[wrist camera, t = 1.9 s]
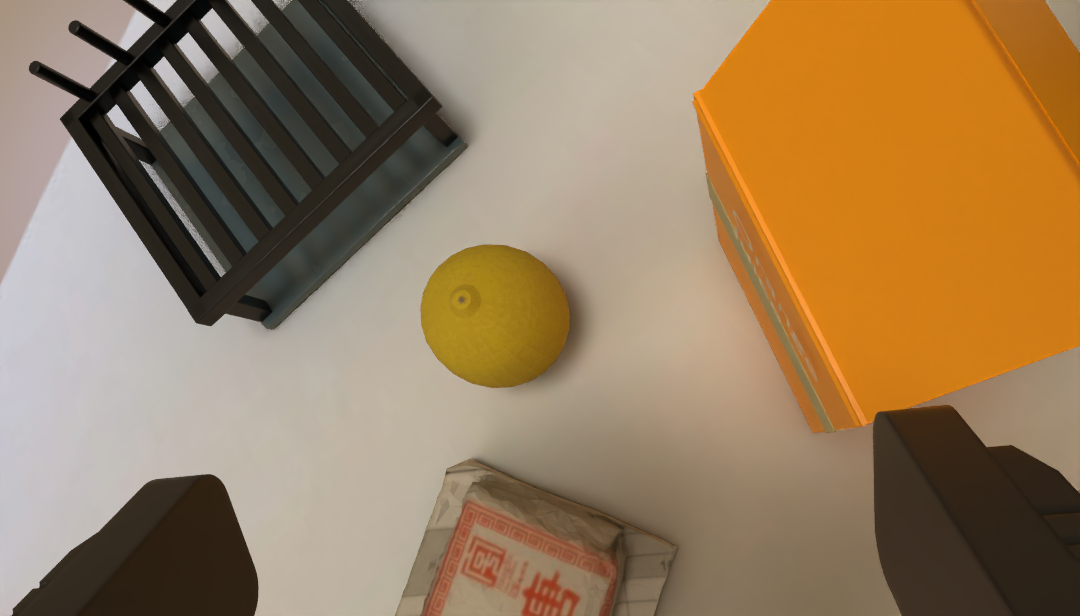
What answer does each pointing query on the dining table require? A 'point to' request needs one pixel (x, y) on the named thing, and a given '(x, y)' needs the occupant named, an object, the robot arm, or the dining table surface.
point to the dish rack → (259, 148)
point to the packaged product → (529, 555)
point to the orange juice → (899, 194)
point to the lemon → (495, 315)
